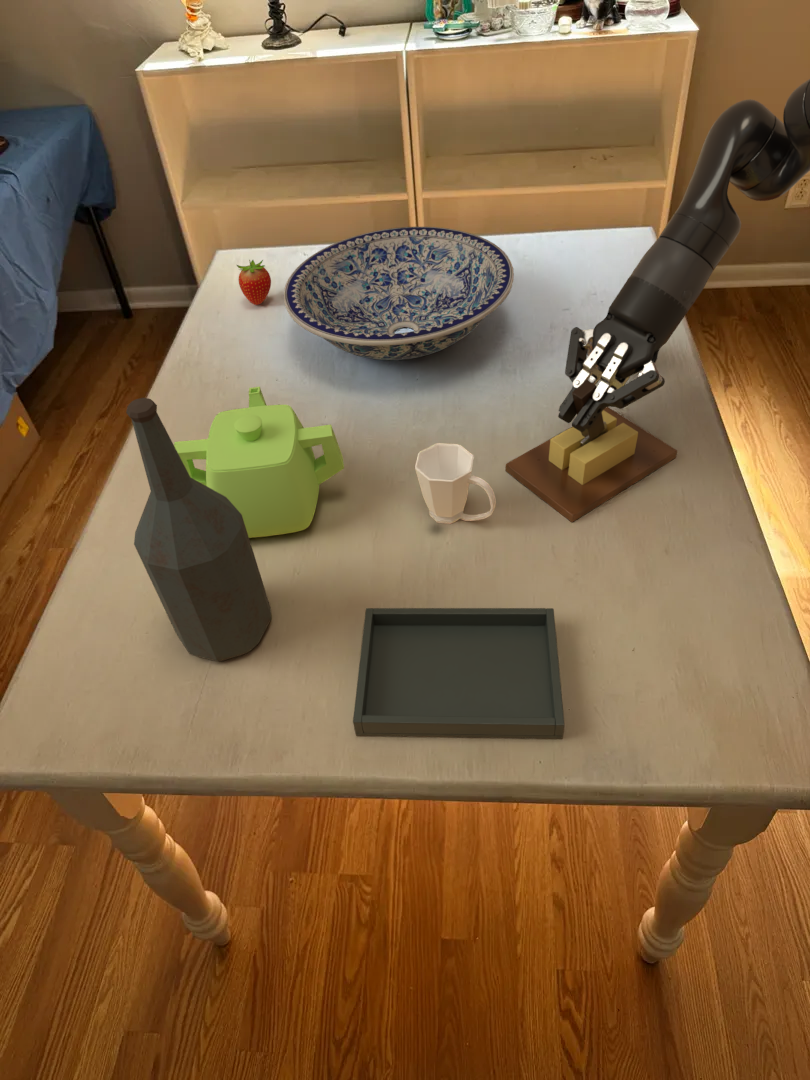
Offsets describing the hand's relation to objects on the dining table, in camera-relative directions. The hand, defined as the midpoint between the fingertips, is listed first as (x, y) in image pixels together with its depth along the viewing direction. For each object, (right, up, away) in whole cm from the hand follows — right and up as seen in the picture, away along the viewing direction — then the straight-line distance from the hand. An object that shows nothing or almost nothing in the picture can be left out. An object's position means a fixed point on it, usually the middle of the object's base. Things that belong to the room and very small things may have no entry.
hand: (570, 424), depth 91 cm
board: (+4, -4, +8) cm, 10 cm away
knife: (+5, -2, +7) cm, 9 cm away
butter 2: (+5, -4, +6) cm, 9 cm away
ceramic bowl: (-20, +19, +32) cm, 42 cm away
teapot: (-36, -8, +9) cm, 38 cm away
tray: (-14, -27, -12) cm, 33 cm away
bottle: (-39, -23, -6) cm, 46 cm away
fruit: (-44, +26, +41) cm, 66 cm away
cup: (-13, -11, +4) cm, 17 cm away
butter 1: (+3, -2, +8) cm, 9 cm away
